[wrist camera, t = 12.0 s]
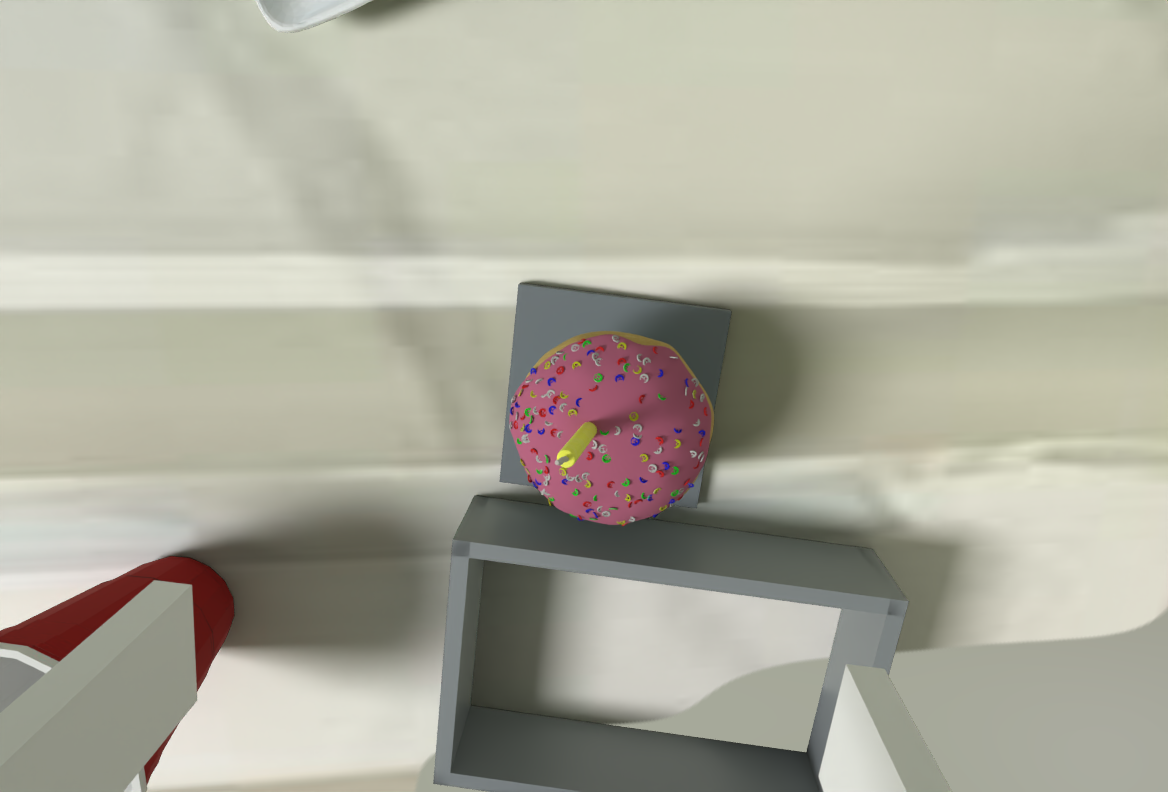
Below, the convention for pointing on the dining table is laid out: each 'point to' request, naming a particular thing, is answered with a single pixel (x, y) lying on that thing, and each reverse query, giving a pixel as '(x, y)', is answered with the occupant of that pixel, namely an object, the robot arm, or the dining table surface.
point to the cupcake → (612, 426)
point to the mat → (574, 312)
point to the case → (664, 556)
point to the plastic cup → (41, 642)
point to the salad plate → (304, 12)
